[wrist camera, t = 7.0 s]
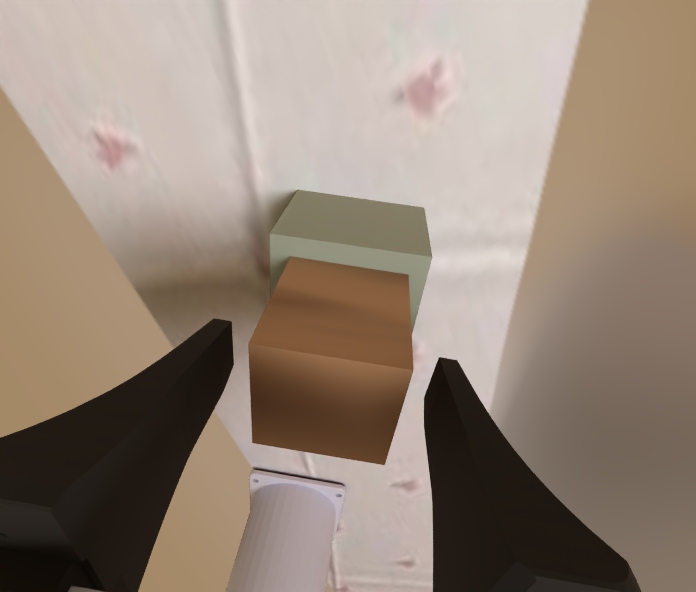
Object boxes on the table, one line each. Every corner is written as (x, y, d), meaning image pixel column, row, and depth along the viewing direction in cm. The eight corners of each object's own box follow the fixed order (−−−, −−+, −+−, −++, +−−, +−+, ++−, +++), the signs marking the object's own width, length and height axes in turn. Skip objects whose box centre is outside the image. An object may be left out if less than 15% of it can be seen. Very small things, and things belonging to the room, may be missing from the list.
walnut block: (387, 360, 17) (384, 465, 13) (287, 344, 17) (252, 442, 13) (408, 274, 14) (413, 370, 10) (290, 256, 14) (248, 343, 10)
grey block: (400, 308, 21) (401, 373, 17) (294, 292, 22) (270, 353, 17) (424, 206, 18) (432, 257, 14) (298, 188, 18) (269, 233, 14)
